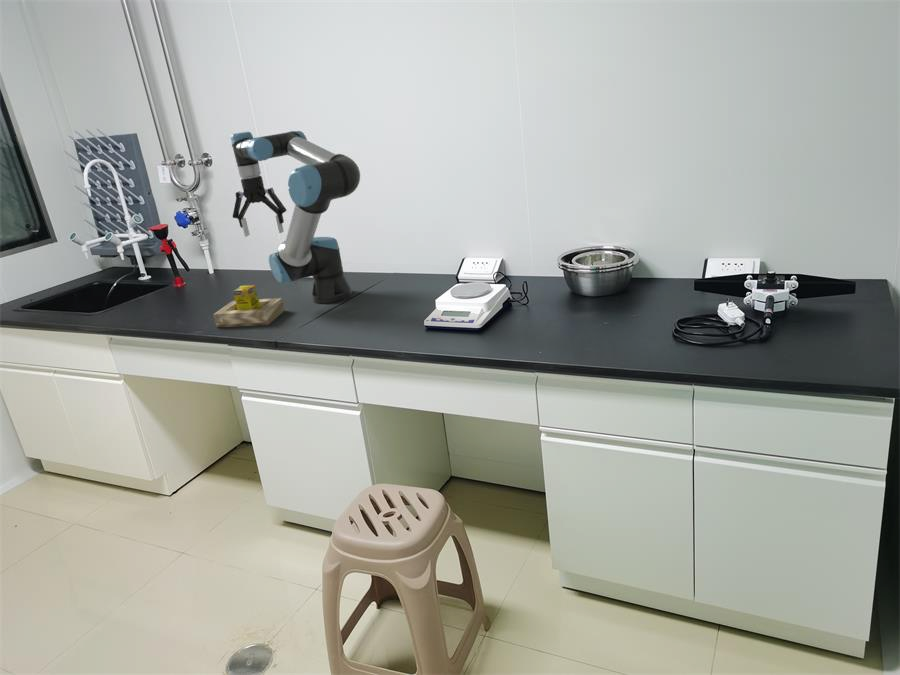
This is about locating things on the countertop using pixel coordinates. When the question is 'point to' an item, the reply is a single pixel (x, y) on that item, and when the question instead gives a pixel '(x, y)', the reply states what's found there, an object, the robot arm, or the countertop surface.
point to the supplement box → (246, 298)
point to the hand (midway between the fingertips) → (264, 234)
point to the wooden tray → (249, 314)
